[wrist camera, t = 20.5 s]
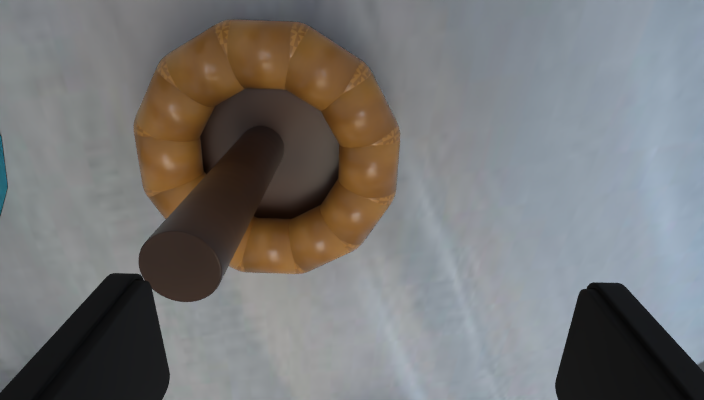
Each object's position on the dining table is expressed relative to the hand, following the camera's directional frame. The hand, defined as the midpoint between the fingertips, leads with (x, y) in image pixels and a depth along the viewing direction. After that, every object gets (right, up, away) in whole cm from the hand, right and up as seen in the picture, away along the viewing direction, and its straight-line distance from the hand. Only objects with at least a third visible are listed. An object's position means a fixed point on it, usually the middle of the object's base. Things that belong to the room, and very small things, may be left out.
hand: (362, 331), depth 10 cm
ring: (-4, +5, +13) cm, 14 cm away
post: (-5, +6, +15) cm, 17 cm away
